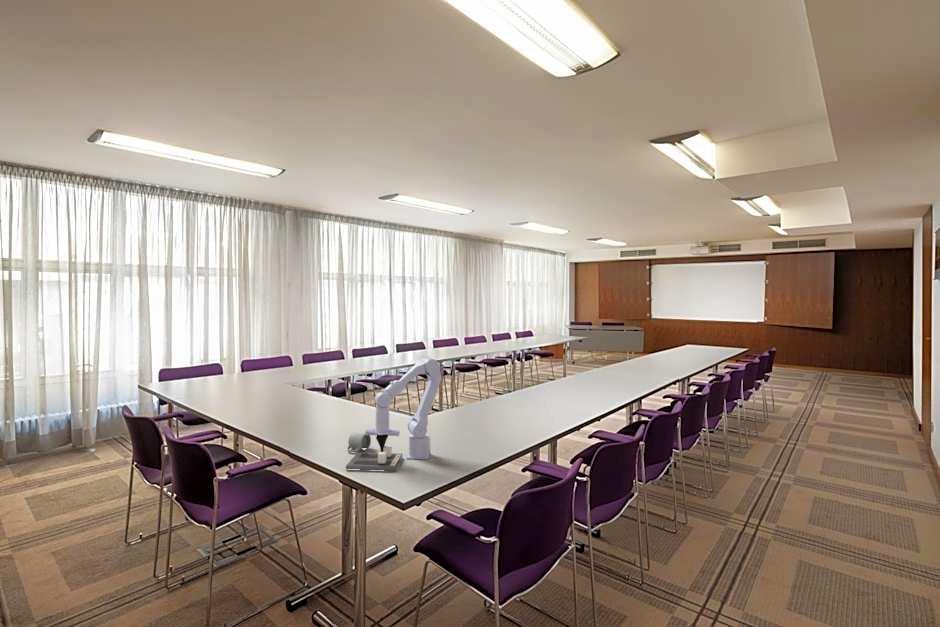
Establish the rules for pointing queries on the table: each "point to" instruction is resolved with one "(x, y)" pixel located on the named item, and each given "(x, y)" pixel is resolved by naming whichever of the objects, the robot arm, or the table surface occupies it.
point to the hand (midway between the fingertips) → (382, 451)
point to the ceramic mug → (359, 442)
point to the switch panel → (373, 462)
